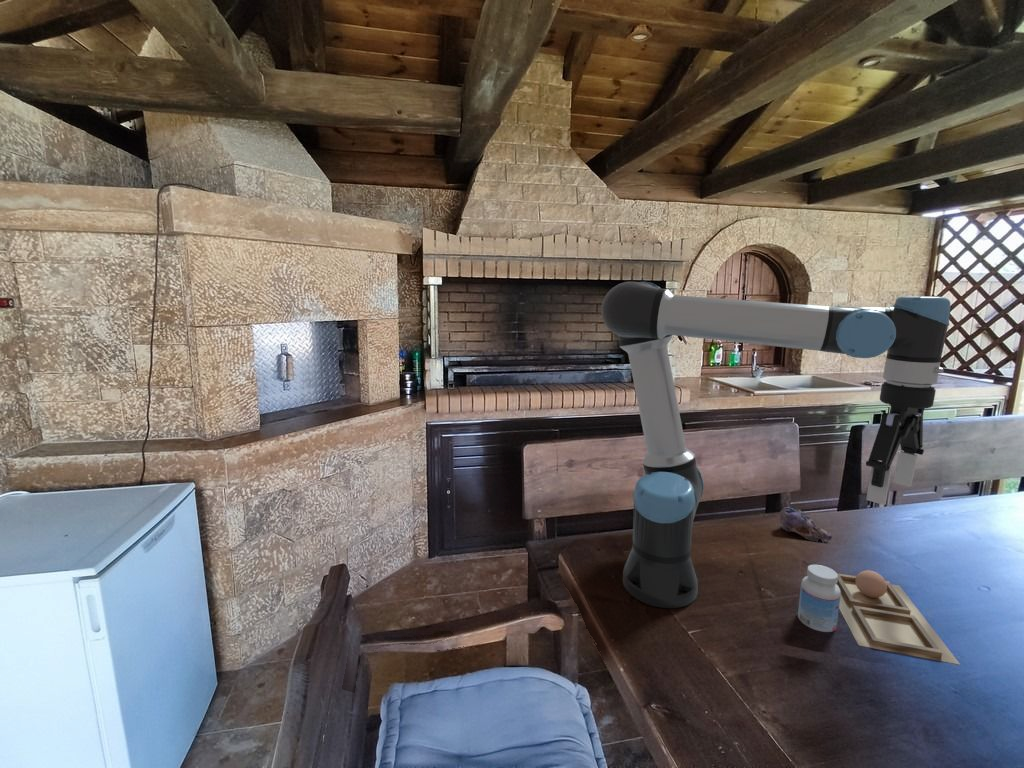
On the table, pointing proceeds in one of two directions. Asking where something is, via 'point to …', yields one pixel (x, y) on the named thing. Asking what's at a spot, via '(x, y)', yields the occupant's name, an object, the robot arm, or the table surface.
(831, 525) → the table surface
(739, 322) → the robot arm
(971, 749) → the table surface
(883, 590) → the egg
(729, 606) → the table surface
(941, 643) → the tray
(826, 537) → the skull
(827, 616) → the pill bottle
